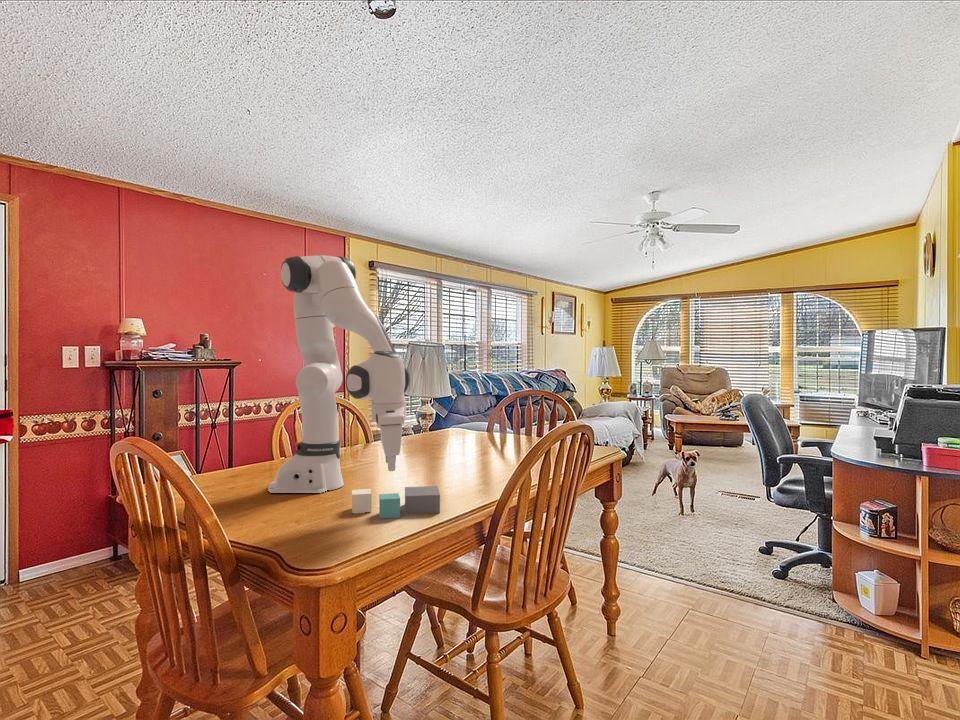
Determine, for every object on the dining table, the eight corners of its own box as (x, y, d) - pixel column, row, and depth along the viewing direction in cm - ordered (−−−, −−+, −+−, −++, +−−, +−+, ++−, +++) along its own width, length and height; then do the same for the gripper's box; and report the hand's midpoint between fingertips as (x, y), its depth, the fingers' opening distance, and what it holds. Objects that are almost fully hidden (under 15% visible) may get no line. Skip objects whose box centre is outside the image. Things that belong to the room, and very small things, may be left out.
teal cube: (380, 518, 136) (380, 499, 136) (379, 513, 141) (379, 494, 141) (400, 517, 137) (400, 498, 137) (398, 511, 142) (398, 493, 142)
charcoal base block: (405, 515, 140) (405, 496, 140) (404, 504, 149) (404, 487, 149) (439, 513, 141) (439, 494, 141) (437, 503, 150) (437, 485, 150)
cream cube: (352, 513, 140) (352, 494, 140) (351, 508, 145) (351, 489, 145) (371, 512, 141) (371, 493, 141) (370, 506, 146) (370, 488, 146)
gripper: (374, 409, 147) (376, 459, 148) (378, 419, 127) (379, 476, 128) (397, 408, 149) (399, 457, 149) (404, 417, 129) (406, 474, 129)
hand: (390, 466), depth 138 cm, fingers open, 8 cm apart
